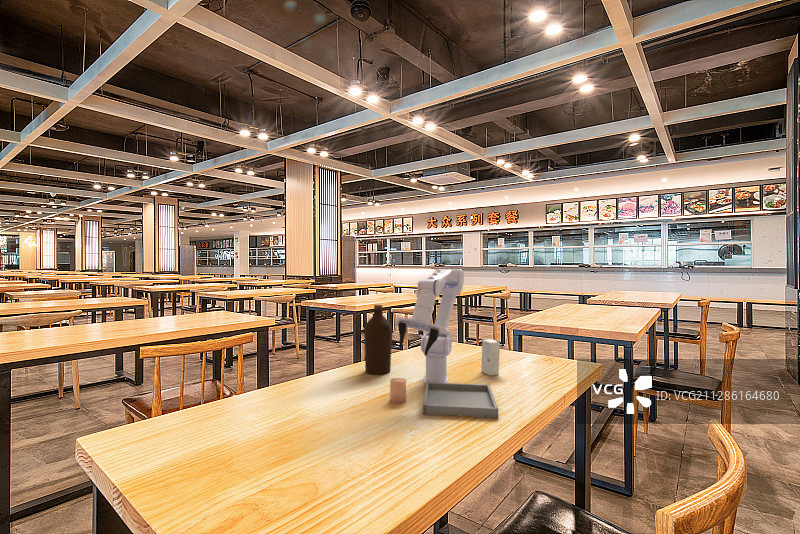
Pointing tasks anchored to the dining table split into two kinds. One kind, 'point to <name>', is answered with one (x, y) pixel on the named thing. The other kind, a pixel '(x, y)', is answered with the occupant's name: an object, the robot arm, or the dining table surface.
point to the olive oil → (378, 343)
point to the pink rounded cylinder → (398, 390)
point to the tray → (459, 400)
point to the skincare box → (490, 357)
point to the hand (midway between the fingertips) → (412, 350)
